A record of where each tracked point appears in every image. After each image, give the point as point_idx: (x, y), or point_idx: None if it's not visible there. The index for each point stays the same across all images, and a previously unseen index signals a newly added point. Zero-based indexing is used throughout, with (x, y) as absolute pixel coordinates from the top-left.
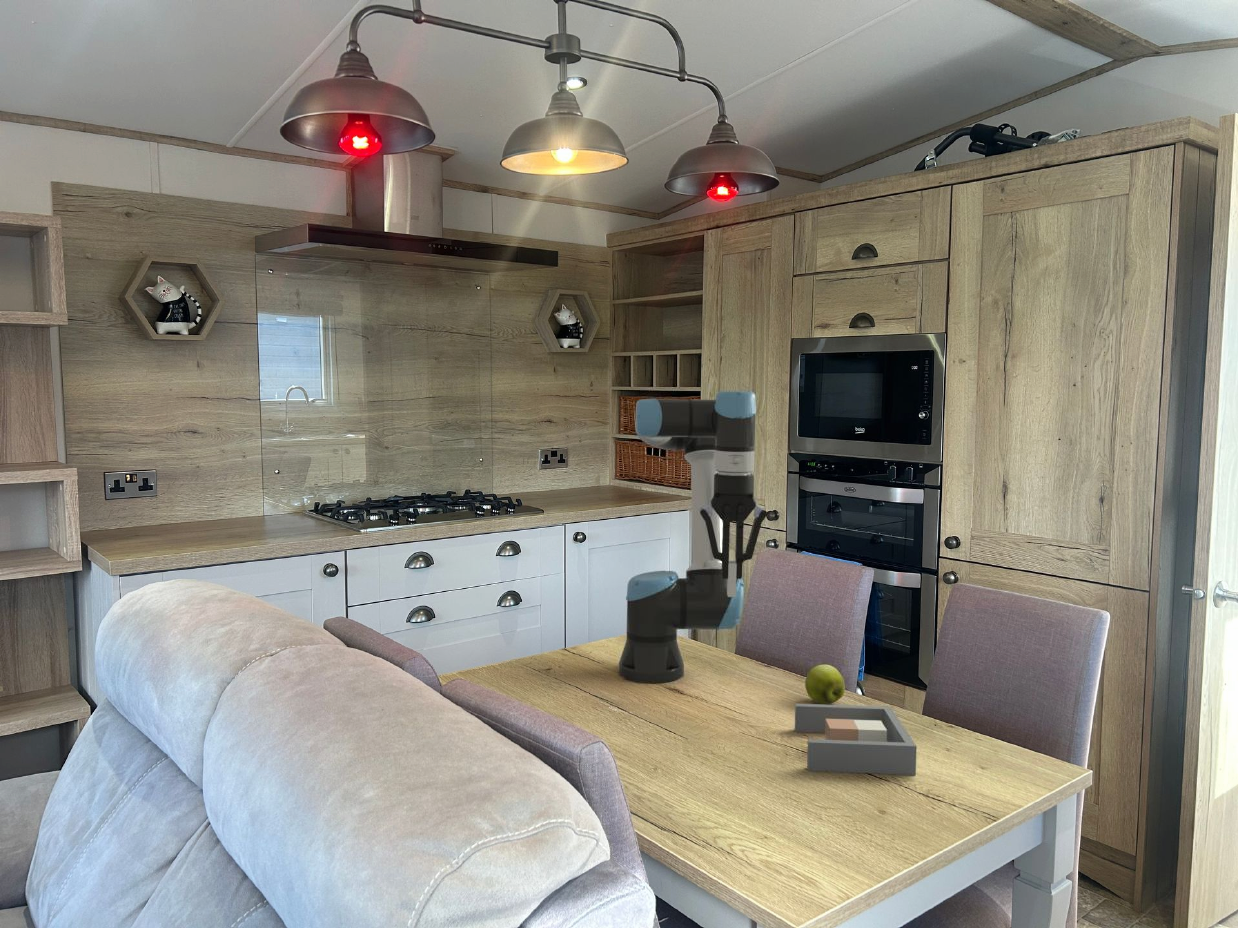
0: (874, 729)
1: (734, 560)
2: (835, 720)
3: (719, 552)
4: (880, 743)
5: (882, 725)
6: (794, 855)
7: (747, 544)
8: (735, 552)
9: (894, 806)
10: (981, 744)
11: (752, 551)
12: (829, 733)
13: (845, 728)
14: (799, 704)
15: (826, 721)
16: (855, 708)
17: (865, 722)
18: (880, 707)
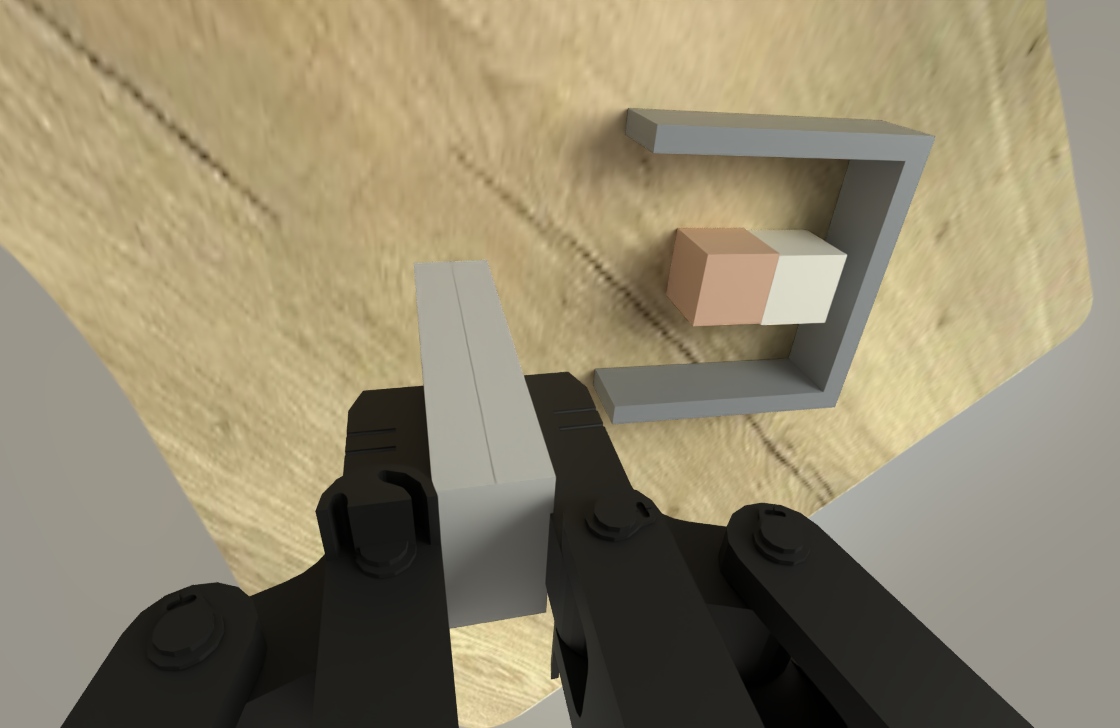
0: (798, 320)
1: (540, 482)
2: (729, 266)
3: (277, 710)
4: (769, 404)
5: (832, 289)
6: (506, 638)
7: (861, 725)
8: (583, 605)
9: (700, 492)
10: (1033, 192)
11: (815, 723)
12: (687, 316)
13: (732, 320)
14: (669, 133)
15: (703, 270)
16: (829, 158)
17: (800, 273)
18: (903, 145)
